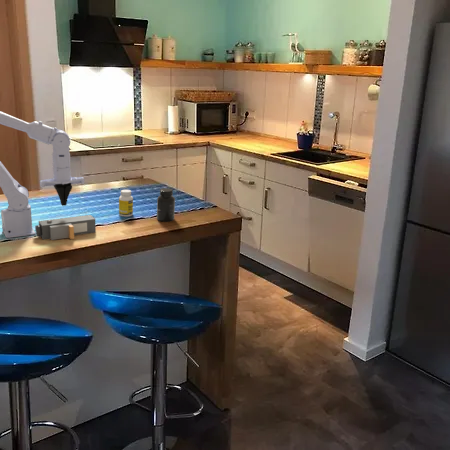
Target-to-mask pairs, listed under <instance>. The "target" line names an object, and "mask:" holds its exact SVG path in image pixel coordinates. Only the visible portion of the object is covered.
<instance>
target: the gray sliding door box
mask: <svg viewBox="0 0 450 450" xmlns="http://www.w3.org/2000/svg"><path fill="white" fill-rule="evenodd" d="M70 223H71V224H72V225H73V227H74V236H78V235H87V234H93V233H97V231H96V230H97V229H96V218H95V217H93V215H91V214H88V215H78V216H77V215H76V216H70V217H63V218H54V219H53V218H52V219H46V220H38V225H35V227H34V231H35V232H36V234H35V236H36V237H41V239H42V240H43V241H44V240H51V239H50V226H54V225H62V224H70Z"/></svg>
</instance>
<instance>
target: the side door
mask: <svg viewBox="0 0 450 450" xmlns="http://www.w3.org/2000/svg"><path fill="white" fill-rule="evenodd" d="M68 238H69V240H74V239H75V235H74V227H73V225H72V224H71V223H70V224H62V225H54V226H50V239H49V240H52V241H53V240H61V239H68Z"/></svg>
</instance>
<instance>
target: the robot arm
mask: <svg viewBox="0 0 450 450" xmlns="http://www.w3.org/2000/svg"><path fill="white" fill-rule="evenodd" d="M0 125H3V126H5V127H8V128H12V129H15V130H17V131H21V132H23V133H26V135H27V136H28V138H29V139H32V140H35V141H37V142H40V143H43V144H47V145H51V146H52V154H51V155H52V171H53V175H52V176H53V178H48V179H47V178H46V179H41V180H39V186H40V187H41V188H45V187H51V186H53V188H54V189H55V191H56V193H57V196H58V198H59V202H60V205H61V206H62V207H64V206H67V203H68V198H69V195H70V192H71V191H72V189H73V185H75V184H81V185H82V184H85V177H83V176H72V170H71V169H72V168H71V153H70V145H71V140H70V136H69V134H68V133H67V131H65V130H62V129H61V128H60V129H58V128H57V127H56V126H54V127H51V126H49V125H46V124H44V121H41V120H38V121H37V120H36V121H35V120H34V121H32V122H27V121H25V120H23V119H21V118H20V119H19V118H18V117H15V116H13V115H10V114H8V113H5V112H4V111H0ZM0 188H1V190H2V193H3V195H4V196H5V198H6V199H7V204H8V205H7V208H5V209H2V210H0V216H1V225H2V226H1V227H2V229H1V230H2V233H3V235H4V236H5V237H6V239H9V238H11V239H12V238H17V237H26V236H33V235H36V231H35V229H34V227H33V219H32V207H31V204H29V196H30V193H29V190H28V189H27V188H26V187H25V186H23V185H21V184H20V183H19V182H18V180H16V179H15V178H14V177H13V176H12V174H11V172H9V170H8V168H6V167H5V165H4V164H3V162H2V161H1V160H0Z"/></svg>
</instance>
